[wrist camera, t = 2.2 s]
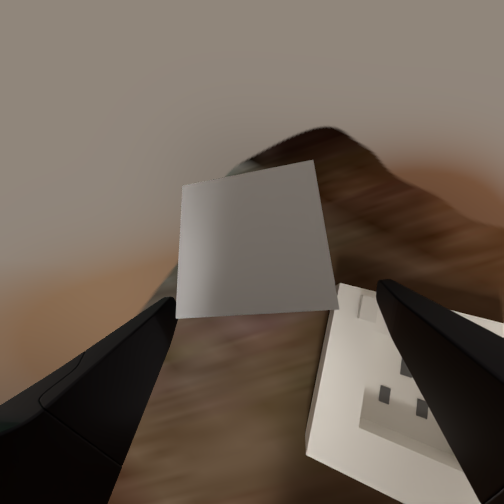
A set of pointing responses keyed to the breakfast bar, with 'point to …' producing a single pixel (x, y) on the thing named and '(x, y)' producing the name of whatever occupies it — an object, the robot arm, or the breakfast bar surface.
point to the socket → (379, 410)
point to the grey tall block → (254, 245)
